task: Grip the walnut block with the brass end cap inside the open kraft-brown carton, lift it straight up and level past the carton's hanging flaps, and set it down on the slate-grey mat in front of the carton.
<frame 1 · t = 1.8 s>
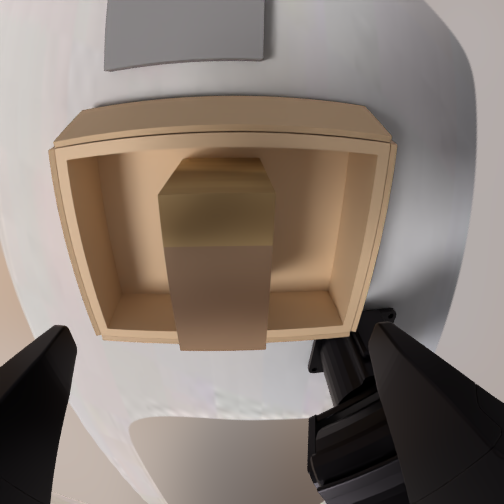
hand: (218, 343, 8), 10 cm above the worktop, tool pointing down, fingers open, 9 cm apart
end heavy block: (221, 223, 17), resting on carton
carton: (222, 219, 17), on the worktop
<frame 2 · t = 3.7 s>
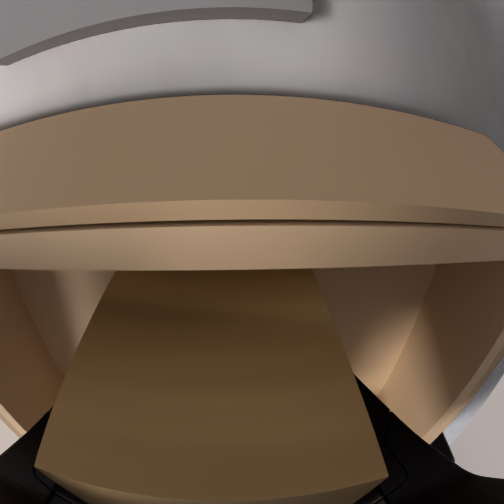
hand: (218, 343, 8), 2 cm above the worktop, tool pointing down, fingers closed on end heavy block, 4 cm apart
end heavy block: (220, 341, 9), resting on carton, touching gripper
carton: (220, 330, 10), on the worktop
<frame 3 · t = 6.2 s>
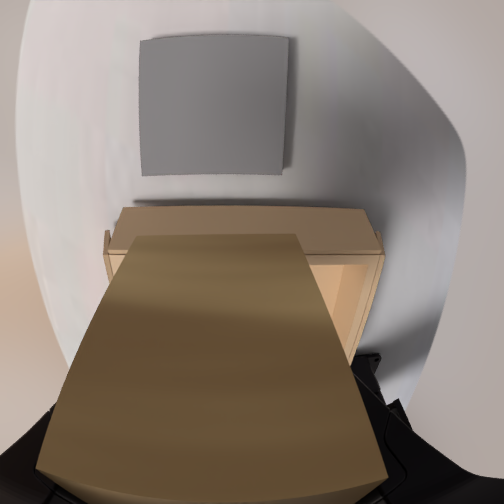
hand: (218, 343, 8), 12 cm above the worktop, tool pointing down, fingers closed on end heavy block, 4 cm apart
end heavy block: (220, 342, 9), point 11 cm above the worktop, touching gripper
carton: (242, 295, 22), on the worktop
mat: (212, 103, 15), on the worktop
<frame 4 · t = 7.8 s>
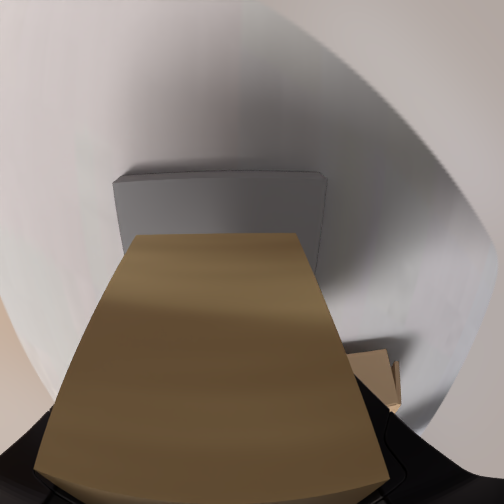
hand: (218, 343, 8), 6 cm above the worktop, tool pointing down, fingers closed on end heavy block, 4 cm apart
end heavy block: (219, 342, 9), point 5 cm above the worktop, touching gripper
carton: (257, 412, 20), on the worktop
mat: (221, 260, 13), on the worktop
when the fingers open (3 cm above the worktop, at t = 9.1 s): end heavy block stays where it is, resting on mat.
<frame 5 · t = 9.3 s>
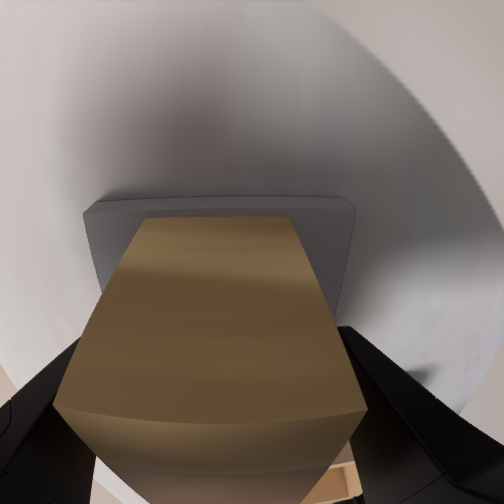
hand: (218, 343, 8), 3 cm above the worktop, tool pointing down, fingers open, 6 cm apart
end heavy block: (220, 320, 10), point 1 cm above the worktop, touching mat
carton: (260, 446, 17), on the worktop
mat: (220, 302, 11), on the worktop
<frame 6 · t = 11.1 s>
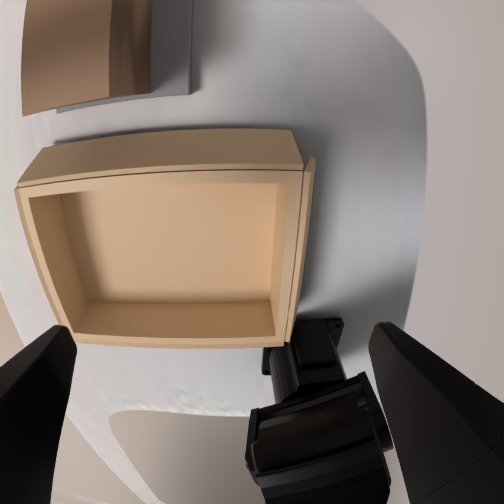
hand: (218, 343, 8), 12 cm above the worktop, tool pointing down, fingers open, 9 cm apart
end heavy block: (116, 34, 12), point 1 cm above the worktop, touching mat
carton: (165, 239, 19), on the worktop
mat: (122, 37, 12), on the worktop
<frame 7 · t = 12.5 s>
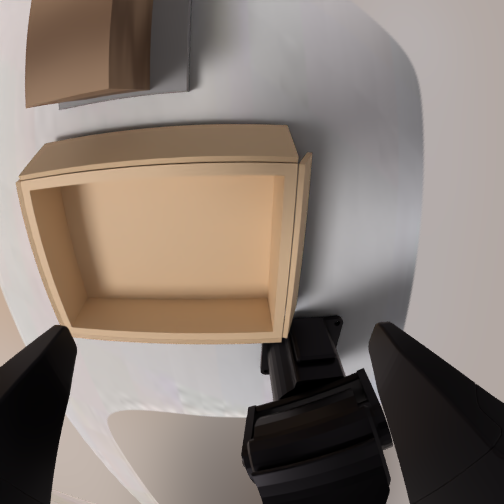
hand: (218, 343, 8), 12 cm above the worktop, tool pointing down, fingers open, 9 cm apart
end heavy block: (117, 33, 12), point 1 cm above the worktop, touching mat
carton: (164, 234, 19), on the worktop
mat: (123, 36, 13), on the worktop
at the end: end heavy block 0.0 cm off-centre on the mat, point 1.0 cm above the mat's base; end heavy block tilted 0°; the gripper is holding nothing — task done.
